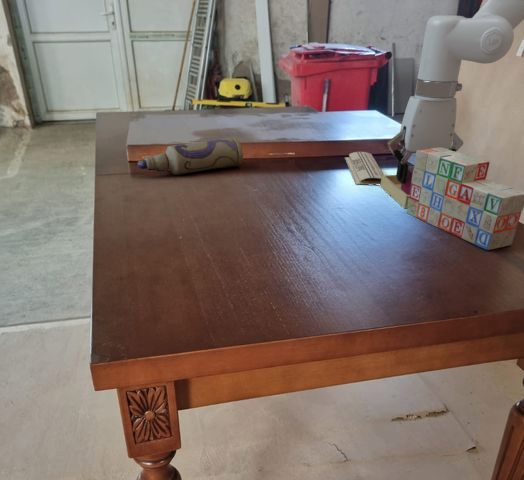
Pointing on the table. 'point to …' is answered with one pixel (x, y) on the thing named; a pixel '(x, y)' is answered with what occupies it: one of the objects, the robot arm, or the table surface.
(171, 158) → the decorative bottle
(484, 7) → the robot arm
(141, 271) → the table surface
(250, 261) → the table surface
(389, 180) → the tray
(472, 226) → the stack of blocks
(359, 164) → the newspaper
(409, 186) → the mulberry block
